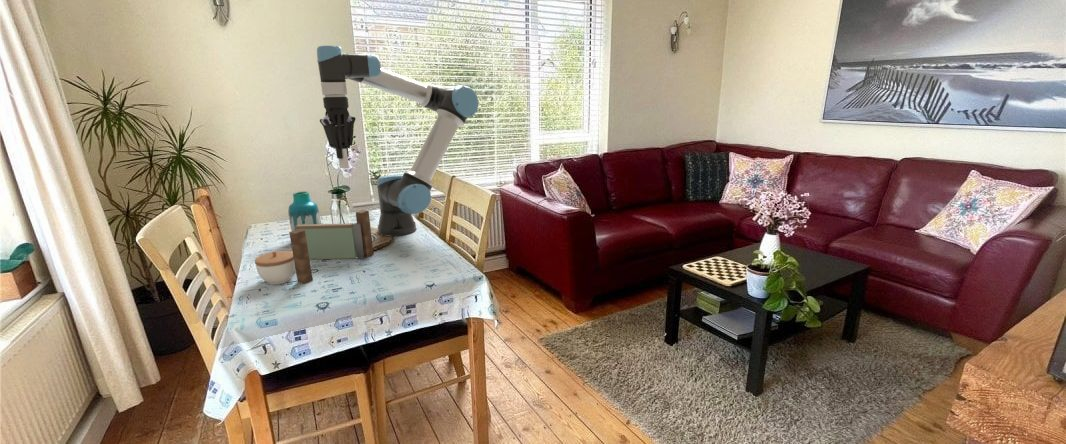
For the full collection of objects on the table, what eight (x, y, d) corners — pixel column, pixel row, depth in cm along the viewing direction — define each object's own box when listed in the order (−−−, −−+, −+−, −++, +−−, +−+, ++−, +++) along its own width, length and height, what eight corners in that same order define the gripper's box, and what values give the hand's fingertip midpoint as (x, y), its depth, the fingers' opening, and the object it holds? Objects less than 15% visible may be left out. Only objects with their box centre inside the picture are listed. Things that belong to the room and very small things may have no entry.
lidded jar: (282, 288, 135) (276, 258, 133) (250, 286, 138) (244, 256, 135) (306, 275, 146) (301, 246, 143) (276, 272, 148) (271, 245, 145)
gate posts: (367, 253, 164) (362, 209, 159) (373, 254, 163) (368, 210, 158) (297, 282, 140) (289, 232, 136) (304, 283, 139) (296, 233, 134)
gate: (365, 255, 161) (361, 222, 157) (363, 258, 158) (359, 224, 155) (303, 257, 160) (297, 224, 156) (300, 260, 157) (294, 226, 154)
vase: (299, 247, 171) (291, 197, 166) (288, 241, 178) (280, 193, 173) (328, 240, 178) (320, 192, 173) (316, 235, 185) (309, 188, 180)
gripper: (342, 95, 158) (351, 164, 165) (310, 96, 147) (320, 170, 154) (358, 95, 155) (366, 165, 161) (326, 96, 144) (336, 171, 150)
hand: (344, 167), depth 157 cm, fingers closed
